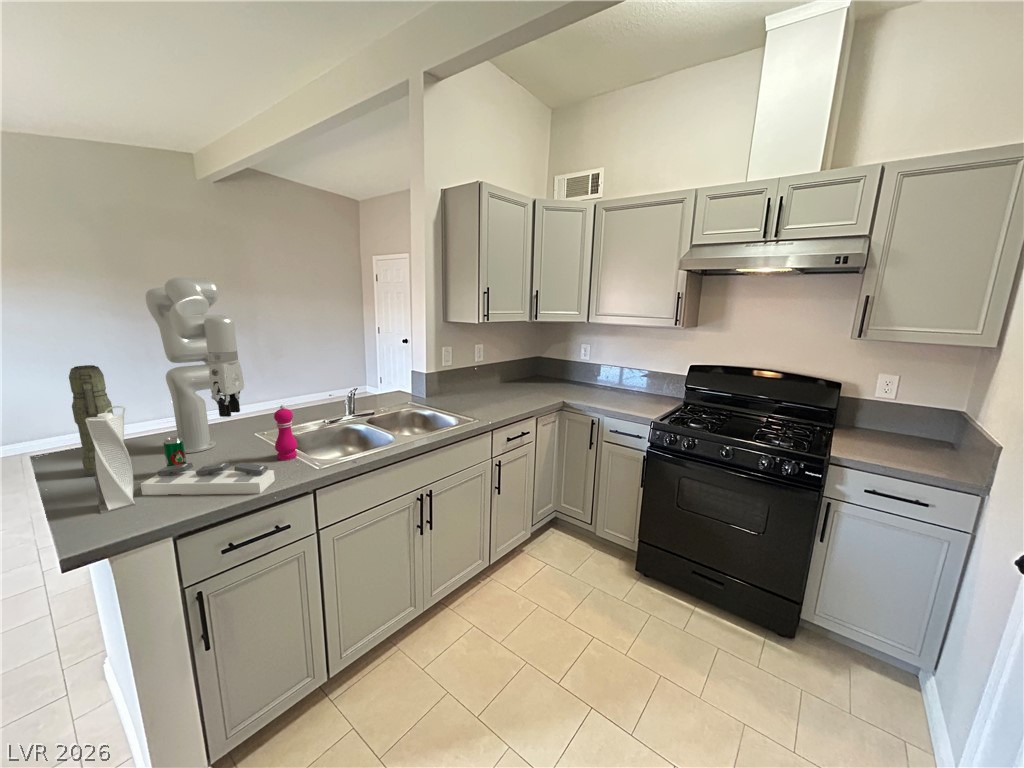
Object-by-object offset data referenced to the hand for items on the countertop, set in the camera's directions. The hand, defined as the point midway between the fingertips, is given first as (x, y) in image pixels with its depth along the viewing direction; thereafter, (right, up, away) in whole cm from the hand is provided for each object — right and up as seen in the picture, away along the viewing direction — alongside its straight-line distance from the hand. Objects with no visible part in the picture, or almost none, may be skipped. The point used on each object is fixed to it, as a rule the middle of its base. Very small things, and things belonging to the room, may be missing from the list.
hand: (230, 413), depth 129 cm
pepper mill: (+7, -18, +21) cm, 28 cm away
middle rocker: (-3, -18, -3) cm, 18 cm away
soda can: (-21, -20, +6) cm, 30 cm away
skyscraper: (-20, -25, -15) cm, 35 cm away
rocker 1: (-14, -18, -4) cm, 23 cm away
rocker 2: (+8, -18, -2) cm, 19 cm away
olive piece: (-45, -19, +5) cm, 49 cm away
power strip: (-3, -22, -4) cm, 23 cm away
